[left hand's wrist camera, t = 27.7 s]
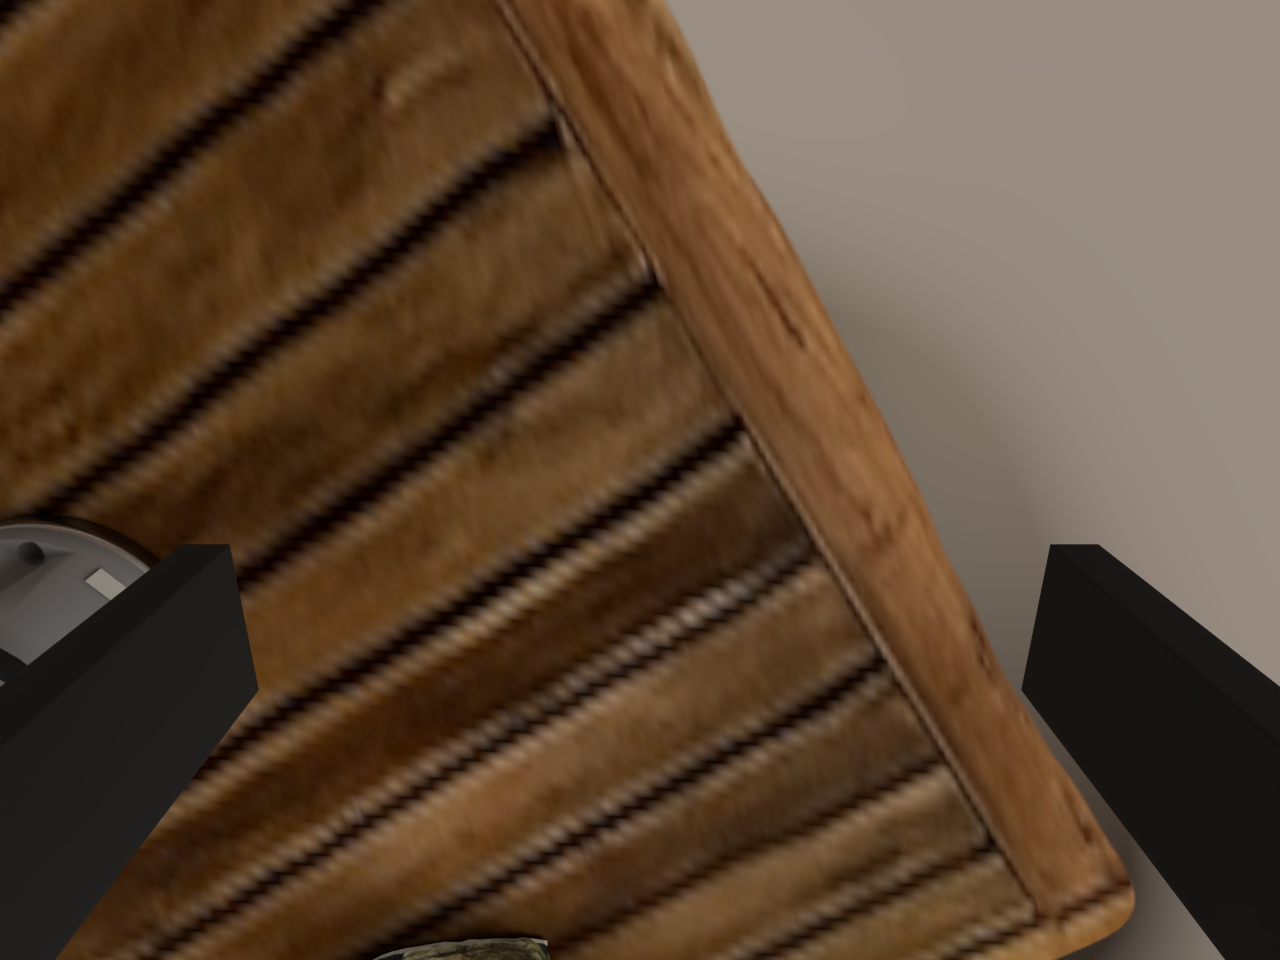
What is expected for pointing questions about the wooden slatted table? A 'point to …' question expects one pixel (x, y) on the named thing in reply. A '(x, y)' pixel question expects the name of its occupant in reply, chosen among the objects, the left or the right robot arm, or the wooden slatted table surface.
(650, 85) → the wooden slatted table surface
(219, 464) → the wooden slatted table surface
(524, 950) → the fossil
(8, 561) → the left robot arm
